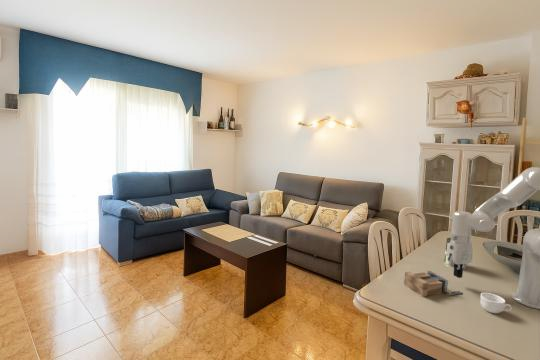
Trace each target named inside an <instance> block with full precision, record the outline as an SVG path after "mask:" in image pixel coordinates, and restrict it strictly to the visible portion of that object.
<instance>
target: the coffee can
mask: <svg viewBox="0 0 540 360" xmlns="http://www.w3.org/2000/svg"><path fill="white" fill-rule="evenodd" d="M450 241H451V237H447V238H446V242H445V252H444V261H443V264H444V265H445V266H446V267H448V268H452V269H454V267H453V266H451V265H449V261H448V249H449V244H450ZM466 267H467V264H466V265H465V266H464V269H463V270H466Z"/></svg>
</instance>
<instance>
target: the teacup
mask: <svg viewBox="0 0 540 360" xmlns="http://www.w3.org/2000/svg"><path fill="white" fill-rule="evenodd" d="M479 303H480V306H481V307H482V308H483V309H484V310H485V311H486V312H488V313H491V314H499V313H501V312H509V311H512V309H513V308H512V305H510V304H509V303H506V300H505V298H504V297H502V296H500V295H497V294H493V293H492V292H490V293H489V292H481V293H480V302H479ZM507 306H509V309H507V308H505V307H507Z"/></svg>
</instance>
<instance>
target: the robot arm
mask: <svg viewBox="0 0 540 360" xmlns="http://www.w3.org/2000/svg"><path fill="white" fill-rule="evenodd" d="M538 191H540V167H536V166H532V167H528V168H526V169H525V170H523V171H522V172H521V173H519V175H517V176H516V177H515V178H514V179H513V180H512V181H510V182H509V183H508V184H507V185H506V186H505V187H503V189H501V190H500V191H499V192H497V193H496V194H494V195H493V196H492V197H490V198H488V199H487V200H486V201H485V202H483V203H482V204H481V205H479V207H478V208H476V209H475V210H474V211H473V212H472V213H471V212H469V211H462V210H461V211H460V210H457V211H454V212H453V213H452V219H451V220H452V221H451V222H452V224H451V235H450V238H451V241H450V244H449V249H448V261H449V265H451V266H453V267H454V268H453V276H454V277H456V278H458V279H460V278H461V279H462V278H463V273H464V270H465V269H464V266H465V265H466V266H467V265H468V264H470V263H472V262H473V254H474V252H473V251H474V250H473V244H472V241H471V240H472V230H473V231H478V232H482V233H483V232H484V233H485V232H486V233H487V232H491V231H492V230H494V228H495V226H496V223H495V220H494V219H495V218H496V217H497V216H499V214H501V213H503V212H505V211H507V210H509V209H513V208H517V207H519V206H521V205H523V203H524V202H526V201H527V200H528V199H529V198H531V196H532V195H534V194H535V193H536V192H538ZM519 269H520V270H519V276H518V283H517V289H516V291H513V292H511V298H512V299H513V300H514V301H516V302H517V303H519V304H522V305H523V306H527V307H528V308H533V309H537V310H540V228H537V227H536V228H531V229H530V230H529V229H528V231H526V233H525V234H524V236H523V238H522V257H521V263H520V268H519Z"/></svg>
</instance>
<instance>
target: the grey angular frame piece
mask: <svg viewBox="0 0 540 360" xmlns="http://www.w3.org/2000/svg"><path fill="white" fill-rule="evenodd" d="M426 274H428V275H429V276H430V278H424V279H423V280H424V281H425V280H433V279H436V280H438V281H440V282H442V289H441V292H442V291H443V293H446V292H448V293H451V292H452V291H450V290H448V284H449V280H447V279H446V278H444V277H443V276H440V274H439V275H438V274H437V273H435V272H433V271H431V270H427V273H426Z"/></svg>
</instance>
